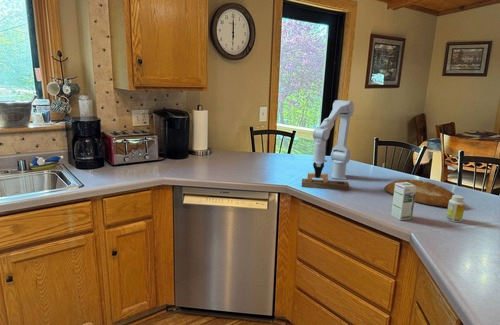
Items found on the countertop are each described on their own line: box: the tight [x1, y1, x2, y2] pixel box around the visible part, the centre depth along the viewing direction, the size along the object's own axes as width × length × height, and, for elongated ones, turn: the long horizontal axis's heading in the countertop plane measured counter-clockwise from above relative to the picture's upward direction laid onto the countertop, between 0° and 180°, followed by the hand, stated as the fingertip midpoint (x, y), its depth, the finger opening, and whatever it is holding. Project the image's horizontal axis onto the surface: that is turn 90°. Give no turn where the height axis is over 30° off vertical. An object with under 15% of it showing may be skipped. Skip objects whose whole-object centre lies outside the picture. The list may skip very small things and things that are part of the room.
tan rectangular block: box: [306, 172, 329, 183], centre depth 176 cm, size 2×10×6 cm, turn 78°
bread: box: [384, 179, 456, 208], centre depth 161 cm, size 18×35×9 cm, turn 46°
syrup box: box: [390, 182, 416, 221], centre depth 136 cm, size 6×6×14 cm
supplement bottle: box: [445, 194, 466, 223], centre depth 136 cm, size 6×6×10 cm
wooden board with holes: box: [301, 178, 350, 191], centre depth 176 cm, size 7×24×2 cm, turn 81°
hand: (317, 176), depth 175 cm, fingers closed on tan rectangular block, 2 cm apart
